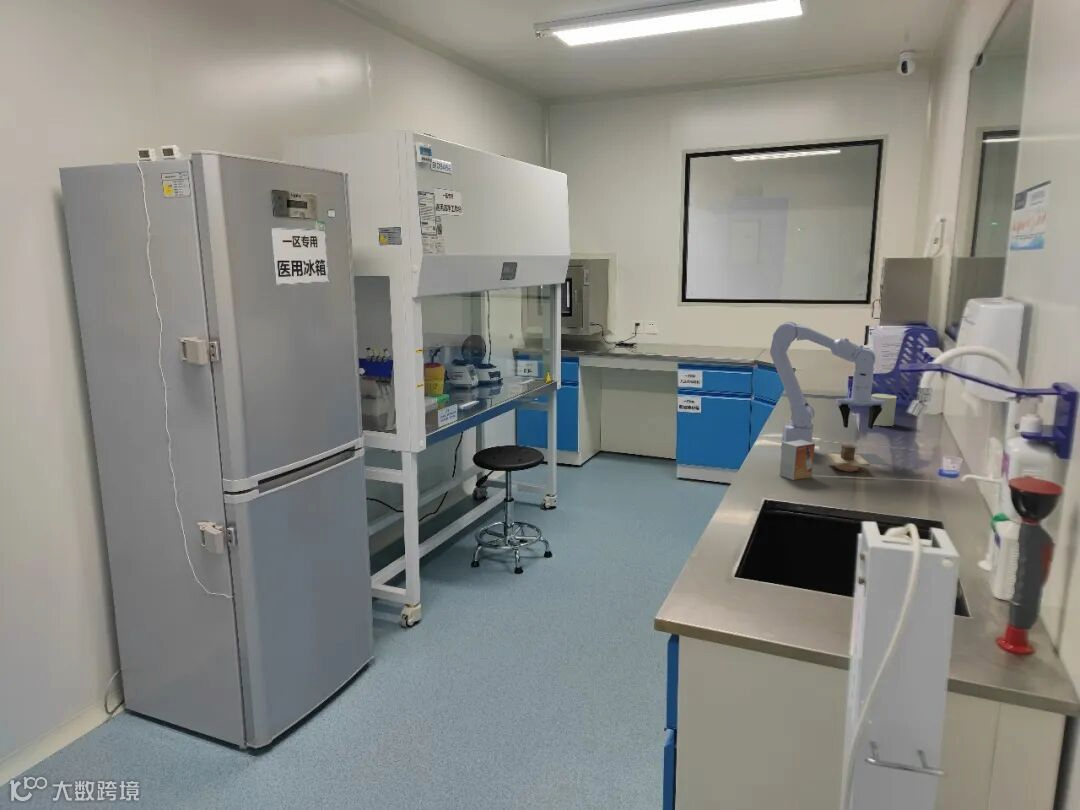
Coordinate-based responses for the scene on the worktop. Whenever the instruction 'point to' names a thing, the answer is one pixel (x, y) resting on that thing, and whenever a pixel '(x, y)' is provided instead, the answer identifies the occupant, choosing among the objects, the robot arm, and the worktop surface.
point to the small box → (797, 459)
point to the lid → (847, 457)
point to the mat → (870, 458)
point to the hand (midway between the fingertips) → (857, 427)
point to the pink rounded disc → (847, 468)
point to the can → (885, 409)
